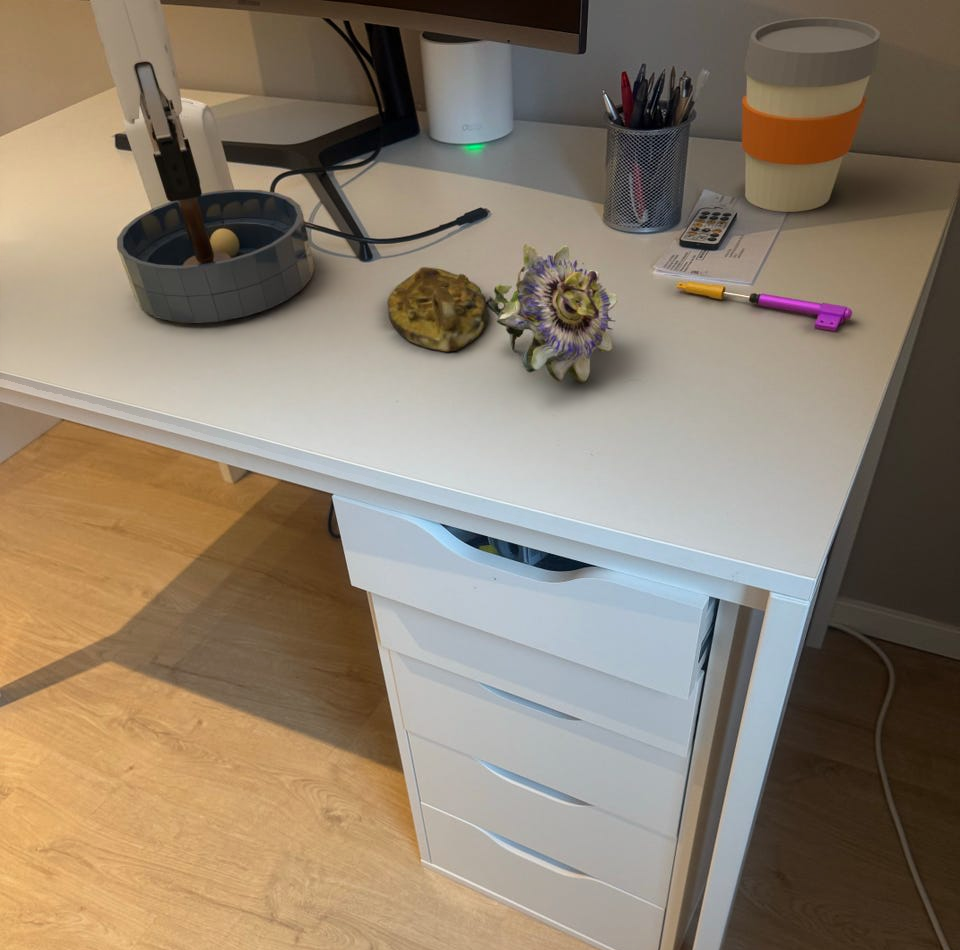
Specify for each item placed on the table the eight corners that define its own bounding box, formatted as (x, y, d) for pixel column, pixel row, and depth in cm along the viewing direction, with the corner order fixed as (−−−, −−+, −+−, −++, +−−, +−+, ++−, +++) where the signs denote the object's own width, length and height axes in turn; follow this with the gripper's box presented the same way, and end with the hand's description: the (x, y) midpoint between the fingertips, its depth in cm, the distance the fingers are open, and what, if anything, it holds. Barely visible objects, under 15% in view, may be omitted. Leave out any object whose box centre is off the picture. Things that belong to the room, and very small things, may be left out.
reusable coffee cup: (847, 221, 93) (884, 53, 82) (722, 216, 96) (742, 53, 85) (848, 174, 101) (882, 15, 90) (733, 171, 104) (752, 17, 93)
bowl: (139, 343, 86) (116, 282, 82) (137, 264, 98) (117, 208, 94) (326, 307, 88) (314, 245, 84) (302, 234, 101) (290, 177, 96)
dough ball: (202, 254, 95) (204, 224, 94) (224, 252, 98) (227, 223, 96) (221, 265, 94) (224, 235, 93) (243, 263, 97) (246, 234, 95)
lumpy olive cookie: (378, 299, 91) (410, 371, 81) (366, 254, 87) (397, 322, 77) (466, 271, 91) (508, 339, 81) (457, 225, 88) (500, 290, 78)
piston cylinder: (852, 316, 79) (680, 286, 86) (854, 304, 78) (680, 275, 85) (842, 336, 78) (669, 304, 85) (844, 325, 77) (669, 294, 84)
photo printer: (149, 223, 106) (110, 106, 97) (164, 208, 109) (127, 93, 100) (232, 222, 104) (200, 103, 95) (244, 207, 107) (214, 90, 98)
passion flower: (578, 431, 80) (552, 376, 69) (480, 379, 83) (439, 318, 72) (646, 322, 80) (631, 248, 68) (544, 274, 83) (514, 196, 72)
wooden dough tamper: (189, 296, 89) (137, 140, 78) (188, 275, 92) (138, 123, 82) (237, 287, 89) (192, 131, 79) (235, 266, 92) (191, 114, 82)
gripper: (67, -61, 76) (142, 171, 89) (58, -24, 65) (145, 233, 79) (157, -74, 77) (218, 158, 90) (163, -39, 66) (231, 217, 80)
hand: (184, 191), depth 84 cm, fingers closed on wooden dough tamper
